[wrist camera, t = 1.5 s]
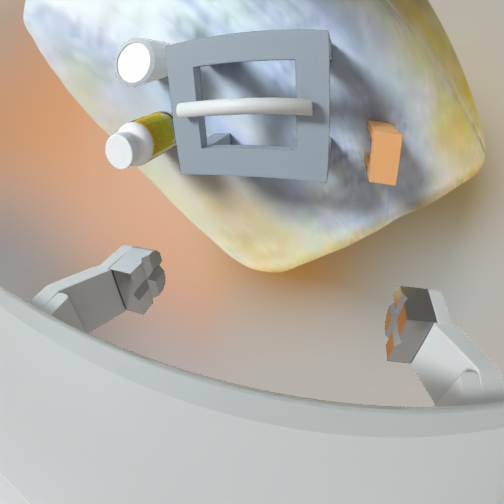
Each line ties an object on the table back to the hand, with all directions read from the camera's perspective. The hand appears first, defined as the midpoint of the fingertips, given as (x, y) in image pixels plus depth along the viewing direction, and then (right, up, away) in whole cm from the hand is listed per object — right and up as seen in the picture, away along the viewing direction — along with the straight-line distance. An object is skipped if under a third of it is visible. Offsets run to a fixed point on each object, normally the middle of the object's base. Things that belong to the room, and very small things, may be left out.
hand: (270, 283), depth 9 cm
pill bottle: (-14, +20, +30) cm, 38 cm away
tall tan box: (+15, +15, +22) cm, 31 cm away
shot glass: (-13, +28, +23) cm, 39 cm away
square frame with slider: (+1, +21, +23) cm, 31 cm away
